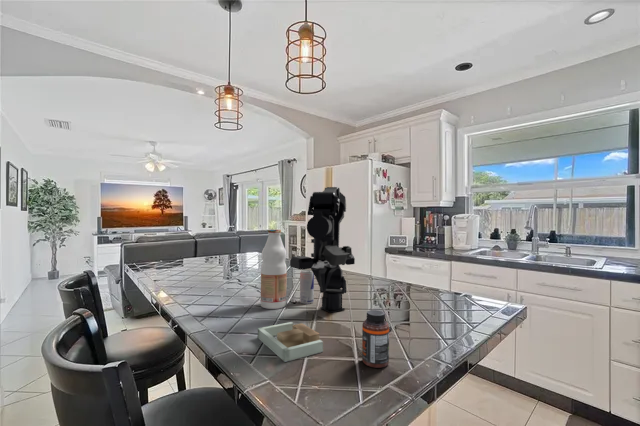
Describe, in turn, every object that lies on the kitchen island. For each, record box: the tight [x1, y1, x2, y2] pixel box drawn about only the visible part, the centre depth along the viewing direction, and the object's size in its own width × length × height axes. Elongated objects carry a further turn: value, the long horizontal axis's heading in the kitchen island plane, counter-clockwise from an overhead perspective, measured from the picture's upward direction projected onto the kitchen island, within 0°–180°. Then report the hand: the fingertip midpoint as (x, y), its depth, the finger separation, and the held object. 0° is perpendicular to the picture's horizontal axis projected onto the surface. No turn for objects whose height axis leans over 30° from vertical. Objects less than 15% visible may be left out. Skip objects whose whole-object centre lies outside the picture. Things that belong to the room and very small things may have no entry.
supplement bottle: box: [361, 309, 390, 369], centre depth 69 cm, size 6×6×11 cm
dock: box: [257, 321, 324, 363], centre depth 78 cm, size 10×16×2 cm, turn 33°
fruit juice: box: [260, 229, 288, 310], centre depth 113 cm, size 9×9×28 cm
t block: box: [276, 323, 321, 348], centre depth 79 cm, size 9×9×3 cm
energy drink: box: [299, 269, 315, 305], centre depth 118 cm, size 5×5×12 cm
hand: (323, 291), depth 87 cm, fingers closed
